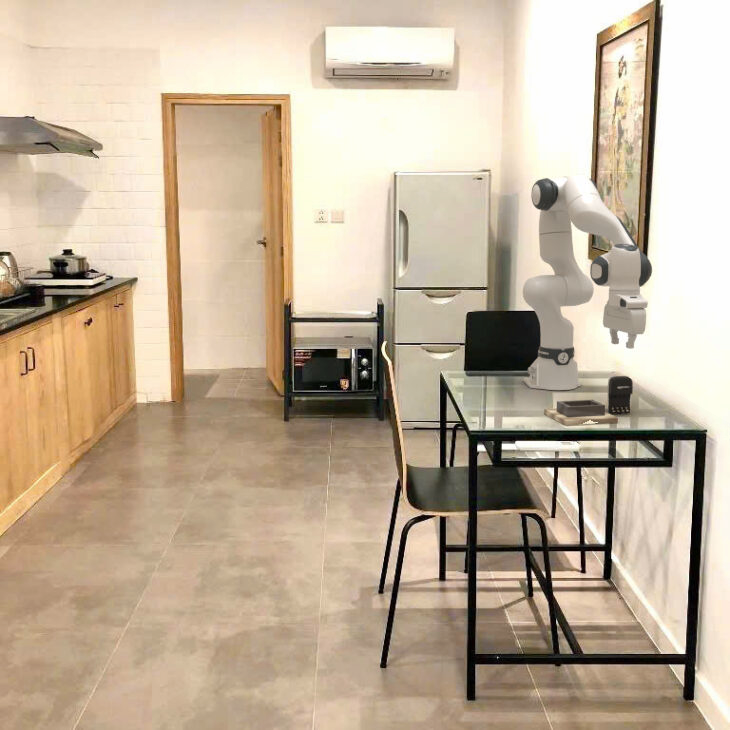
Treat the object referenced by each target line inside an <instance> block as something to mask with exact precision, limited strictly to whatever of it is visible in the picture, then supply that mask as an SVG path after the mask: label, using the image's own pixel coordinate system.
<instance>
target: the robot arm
mask: <svg viewBox="0 0 730 730" xmlns="http://www.w3.org/2000/svg"><path fill="white" fill-rule="evenodd" d="M530 196H531V197H530V198H531V201H532V205H533V206H534V208H536V210H539V211H540V212H539V217H538V218H539V221H538V241H539V242H538V243H539V256H540V258H541V260H542V261H543V262H544V263H546V264H548V265H549V266H550V267H551V268H552V270H553V273H554V274H542V275H537V276H534V277H530V278H527V280H526V281H525V282H524V284H523V285H522V286H523V287H522V296H523V297H522V298H523V300H524V301H525V303H526V304H527V305H528V306H529V307H530V308H532V309H533V311H534V312H535V314H536V316H537V319H538V322H539V327H540V329H539V330H540V346H538V351H537V358H536V359H535V360H534V361H533V362H532V364H530V366H529V367H527V374H529V377H528V376H527V377H524V378H523V379H522V380H523V382H524V383H525V384H526V385H527V386H528V388H530V389H540V390H548V391H550V390H551V391H568V390H569V391H570V390H574V389H576V388H578V387H581V386H582V382H579V375H578V372H579V371H578V362H576V361H575V359H574V357H575V352H576V351H575V347H574V330H575V329H574V324H573V323H572V321H570V320H569V319H568V318H567V317H564V316H563V314H562V311H561V307H562V308H563V307H576V306H580V305H583V304H586V303H589V302H590V301H591V299H592V297H593V295H594V291H595V290H594V288H595V287H594V284H596V285H597V286H599V287H609V288H608V300H607V301H606V304H605V305H604V307H603V317H602V319H603V320H602V325H603V327H604V328H607V329H609V334H610V339H611V344H612V345H618V344H619V343H620V338H619V337H618V333H619V332H622V333H626V334H627V337H628V339H627V341H626V342H625V347H626V349H634V348H635V342H636V339H637V337H638V336H637V335H643V334H644V333H645V331H646V323H647V310H646V309H647V308H648V304H649V303H648V302H649V301H648V300H647V299H646V298H645V297H644V296H643V295H642V294H641V287H643V286H644V285H645V284H647V282H648V281H649V280H650V278H651V276H652V274H653V266H652V263H651V261H650V259H649V257H648V256H647V255H646V254H645V253H644V252H643V251H642V250H641V248H639V247H640V246H638V244H637V242H636V241H635V239H634V238H633V236H632V234H631V233H630V231H629V230H628V228H627V227H626V225H625V223H624V221H622V219H621V218H620V217H618V216H617V215H616V214H614V213H613V211H611V210H610V209H609V208H608V207H607V206H606V204H604V202H603V200H602V198H601V195H600V193H599V191H598V187H597V184H596V182H595V180H594V179H593V178H590V177H588V176H587V175H585V174H574V175H572V176H563V177H562V176H561V177H550V178H548V177H545V178H541V179H537V180H535V182H534V183H533V186H532V187H531V195H530ZM572 225H574V227H575V228H576V229H577V230H579V231H581V232H583V233H587V234H591V235H595V236H599V237H603V238H604V239H608V241H610V242H611V243H612V244H613V245H612V247H611V249H610V250H609V251H608V252H606V253H604V254H601V255H598V256H596V257H595V258H594V259H593V261H591V264H590V268H589V272H590V278H591V279H590V278H589V276H587V275H586V274H585V273H584V272H583V271H582V270H581V268H580V267H579V265H578V263H577V261H576V258H575V253H574V243H573V231H572V230H573V228H572ZM593 283H594V284H593Z"/></svg>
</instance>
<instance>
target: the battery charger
mask: <svg viewBox="0 0 730 730" xmlns="http://www.w3.org/2000/svg"><path fill="white" fill-rule="evenodd" d="M633 383H634V381H633V379H632V378H630V377H629V375H628V376H627V375H613V376H610V377H609V378H608V380H607V391H606V392H607V409H606V412H607V413H609V414H611V415H629V414H631V396H632V395H633V389H634V385H633Z"/></svg>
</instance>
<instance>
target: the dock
mask: <svg viewBox="0 0 730 730" xmlns="http://www.w3.org/2000/svg"><path fill="white" fill-rule="evenodd" d="M543 411H544V412H543V414H544V415H546V416H547V417H549V418H550V419H552V420H555V421H556V422H558V423H560V424H561V425H563V426H565V427H569V426H568V425H573V426H580V425H579V424H583V423H585V422H587V421H589V420H591V421H593V422H598V423H609V424H618V423H619V417H617V416H615V415H614V414H610V413H608V412H607V411H606V405H605V404H602V403H600V402H598V401H597V400H595V399H584V400H583V399H579V400H561V401H559V400H558V401H556V408H544V410H543Z"/></svg>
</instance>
